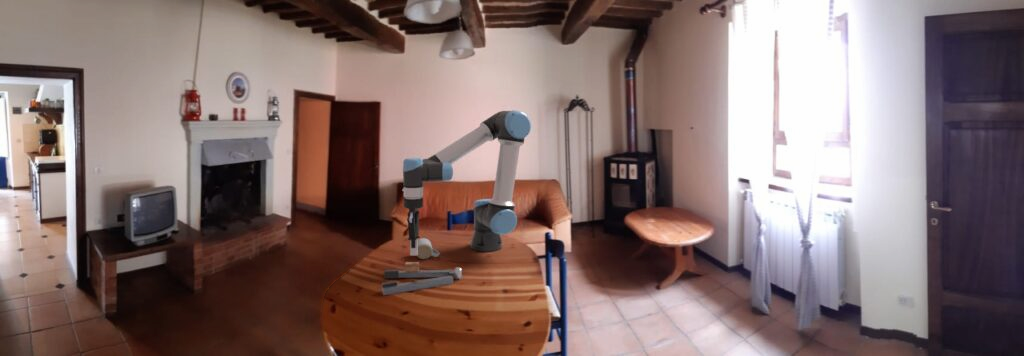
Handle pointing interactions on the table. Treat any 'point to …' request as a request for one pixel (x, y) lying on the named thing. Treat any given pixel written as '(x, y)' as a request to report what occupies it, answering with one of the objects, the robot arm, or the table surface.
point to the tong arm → (421, 272)
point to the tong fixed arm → (414, 285)
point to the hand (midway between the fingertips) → (414, 254)
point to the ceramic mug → (426, 249)
